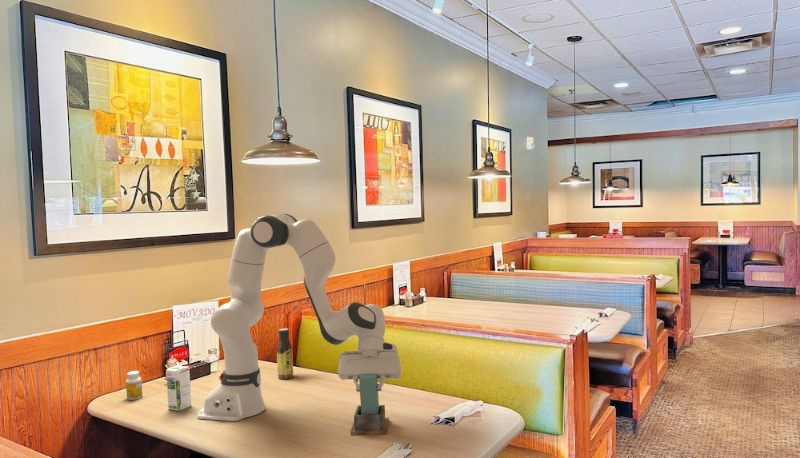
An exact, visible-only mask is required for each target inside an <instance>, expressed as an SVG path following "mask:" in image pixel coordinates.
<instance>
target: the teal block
mask: <svg viewBox="0 0 800 458" xmlns="http://www.w3.org/2000/svg"><path fill="white" fill-rule="evenodd" d="M378 380H379V379H377V373H376V374H361V375H360V378H359V380H358V384H360V392H359V398H360V400H359V401H360V405H361V415H378V412H379V405H380V403H379V400H380V399H379V391H377V384H379V381H378Z"/></svg>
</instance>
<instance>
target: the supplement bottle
mask: <svg viewBox="0 0 800 458" xmlns="http://www.w3.org/2000/svg"><path fill="white" fill-rule="evenodd" d="M142 381H143V380H142V377H141V376H140V371H139V370H131V371H129V372H127V379H126V380H125V388H126V391H125V392H126V399H127V400H129V401H132V400H133V401H134V400H139V399H141V398H143V395H144V394H143V382H142Z"/></svg>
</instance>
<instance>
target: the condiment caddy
mask: <svg viewBox="0 0 800 458" xmlns="http://www.w3.org/2000/svg"><path fill="white" fill-rule="evenodd" d="M385 408H386V405H385V404H379V412H378V415H361V404H360V405H357V407H356V410H355V413H354V415H353V423H352V427H351V429H350V435H351V436H353V435H354V436H356V435H357V436H358V435H361V436H362V435H363V436H365V435H388V429H389V424H390V417H386V409H385Z"/></svg>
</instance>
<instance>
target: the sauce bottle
mask: <svg viewBox="0 0 800 458" xmlns="http://www.w3.org/2000/svg"><path fill="white" fill-rule="evenodd" d="M289 331H290V330H289V328H287V327H286V328H279V329H278V334H279V335H278V340H279V341H278V343H277V345H276V363H277V364H276V365H277V376H278V377H277V378H278V379H280V380H287V379H288V380H289V379H291V378H293V376H294V362H293V361H294V360H293V359H294V358H293V357H294V356H293V346H292V344H291V341H290V338H289Z"/></svg>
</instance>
